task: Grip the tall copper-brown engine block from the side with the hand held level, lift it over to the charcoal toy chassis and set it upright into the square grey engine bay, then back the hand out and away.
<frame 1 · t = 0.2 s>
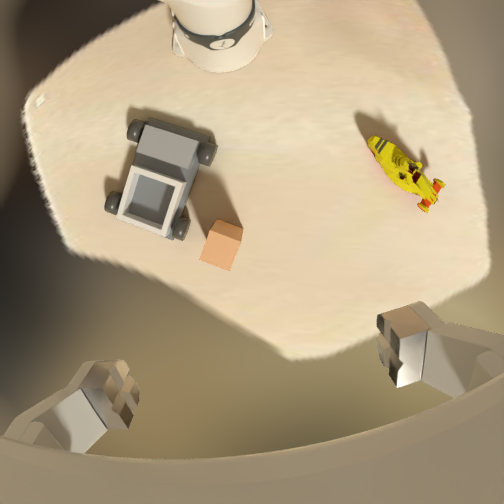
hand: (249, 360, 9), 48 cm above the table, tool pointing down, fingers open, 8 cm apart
chassis: (161, 178, 54), on the table
toy boat: (396, 170, 53), on the table
engine block: (225, 236, 57), on the table
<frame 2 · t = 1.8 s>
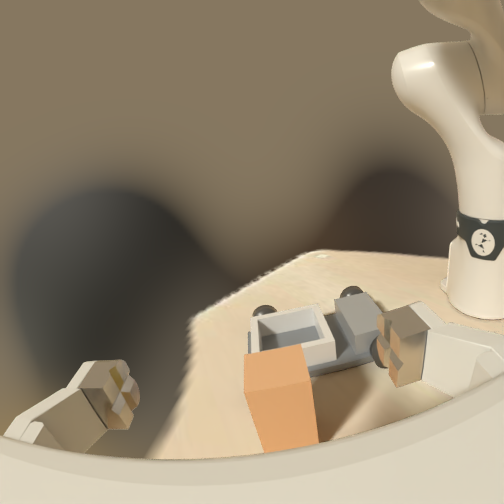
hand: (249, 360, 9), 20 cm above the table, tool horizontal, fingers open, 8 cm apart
chassis: (321, 345, 41), on the table
engine block: (291, 438, 27), on the table
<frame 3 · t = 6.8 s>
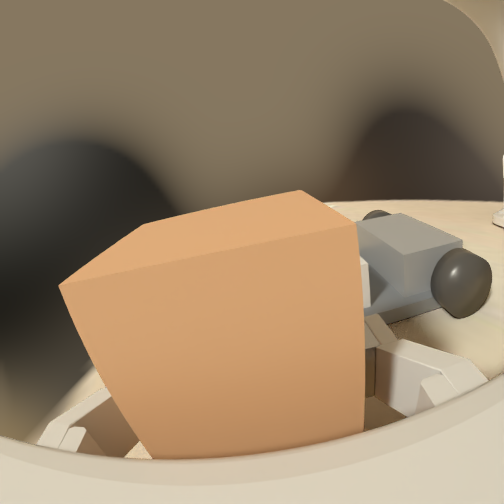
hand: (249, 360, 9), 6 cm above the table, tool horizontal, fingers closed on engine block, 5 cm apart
chassis: (337, 292, 24), on the table
engine block: (279, 474, 10), on the table, touching gripper
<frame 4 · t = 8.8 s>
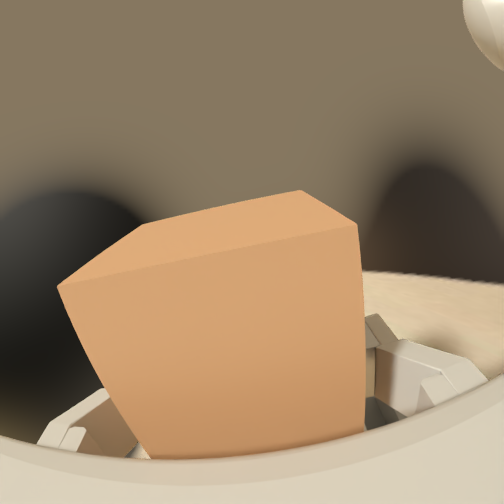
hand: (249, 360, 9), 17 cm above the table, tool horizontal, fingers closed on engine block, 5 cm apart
chassis: (349, 454, 20), on the table
engine block: (279, 475, 10), point 11 cm above the table, touching gripper
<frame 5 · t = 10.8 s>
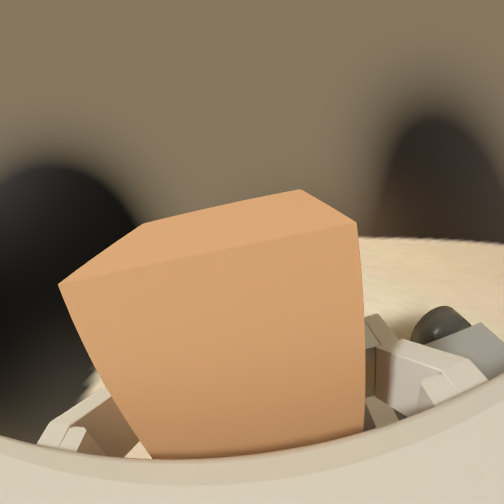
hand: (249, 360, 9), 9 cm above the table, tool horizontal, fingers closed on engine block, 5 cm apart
chassis: (374, 482, 11), on the table
engine block: (279, 474, 10), point 3 cm above the table, touching gripper
when the fingers open (8 cm above the table, at t = 11.3 s): engine block drops 2 cm, resting on chassis.
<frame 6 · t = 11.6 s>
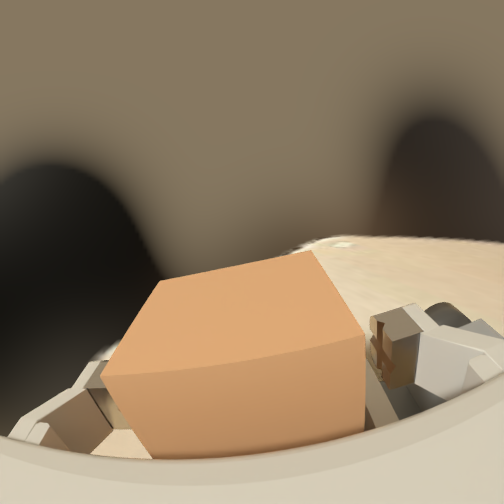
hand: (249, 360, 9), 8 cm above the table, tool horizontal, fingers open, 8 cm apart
chassis: (372, 482, 10), on the table
engine block: (286, 493, 10), point 1 cm above the table, touching chassis
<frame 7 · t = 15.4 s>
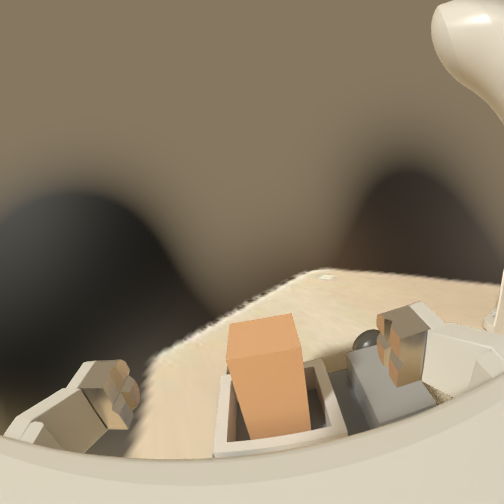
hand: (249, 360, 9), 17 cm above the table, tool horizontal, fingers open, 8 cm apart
chassis: (324, 422, 25), on the table
engine block: (280, 424, 25), point 1 cm above the table, touching chassis
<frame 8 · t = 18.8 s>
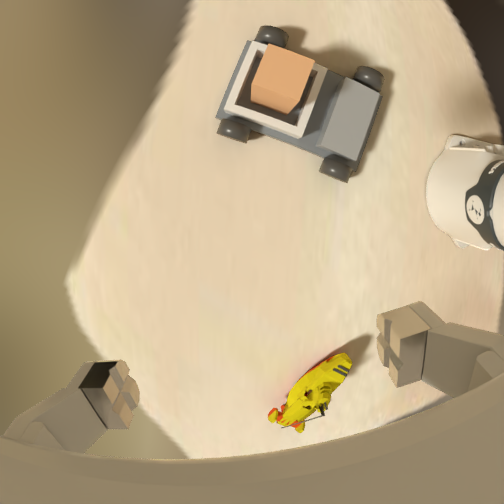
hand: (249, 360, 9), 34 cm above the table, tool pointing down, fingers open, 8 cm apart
chassis: (302, 103, 38), on the table
toy boat: (308, 379, 51), on the table
engine block: (275, 91, 36), point 1 cm above the table, touching chassis
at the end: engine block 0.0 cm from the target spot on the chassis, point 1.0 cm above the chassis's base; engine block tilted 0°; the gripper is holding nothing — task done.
